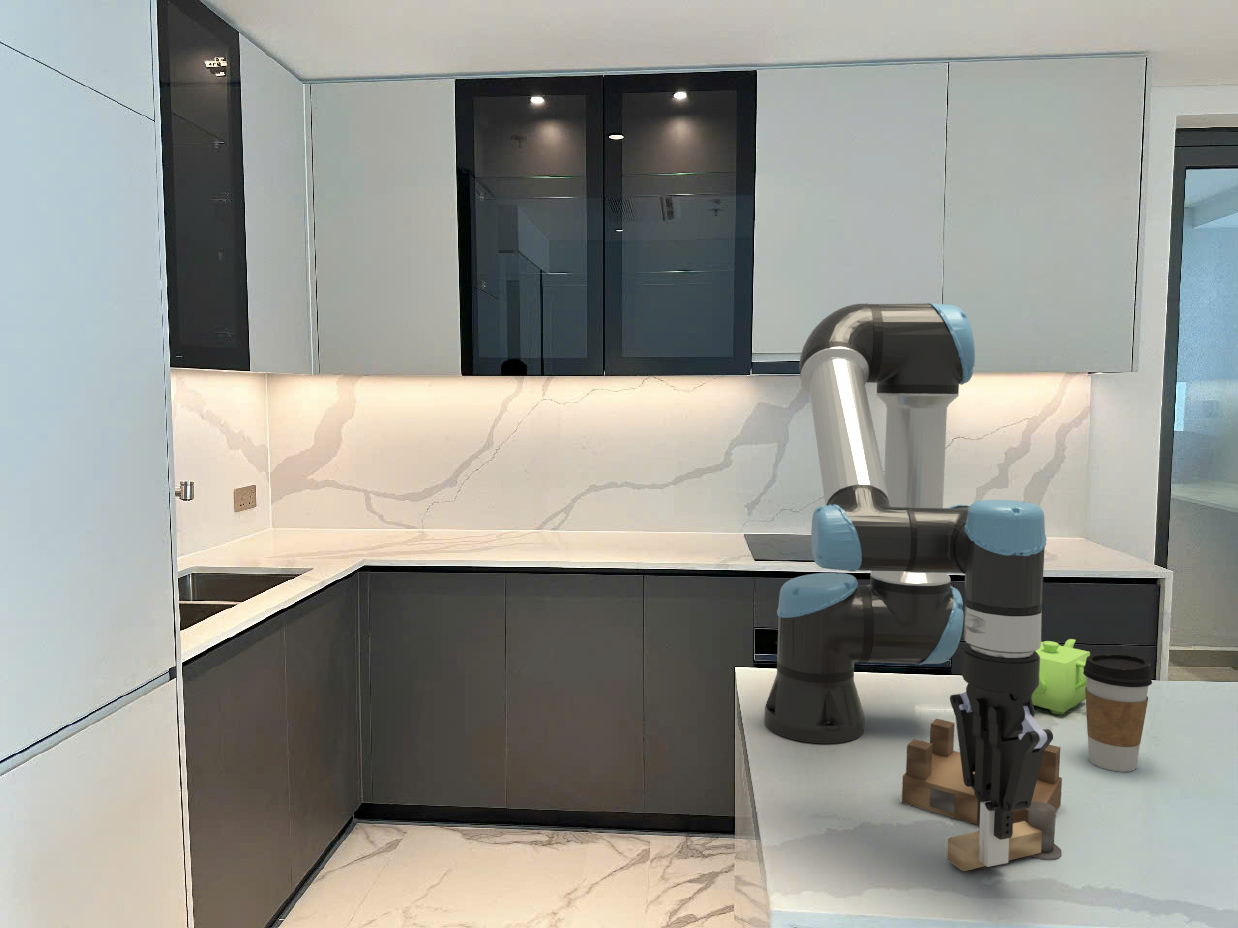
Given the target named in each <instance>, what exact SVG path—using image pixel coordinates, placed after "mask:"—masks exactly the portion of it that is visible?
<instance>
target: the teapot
mask: <svg viewBox="0 0 1238 928" xmlns="http://www.w3.org/2000/svg"><path fill="white" fill-rule="evenodd" d="M1075 643H1076V639H1073V638H1069V639H1067V640H1066V641H1065V643H1064V645H1061V644H1059V643H1058V642H1055V641H1052V640H1051V641H1050V640H1045V641H1041V647H1040V648H1039V649H1038V650H1036V652H1037V653H1038V655H1039V656H1040V670H1039V685H1038V687H1037V688H1036V689H1035V691H1034V692H1033V694H1032V703H1033V706H1036V707H1039V708H1044V709H1046V710H1050V711H1049V712H1050V713H1051V712H1052V714H1054V715H1058V714H1063V715H1065V712H1067V711H1068V710H1070V709H1072V708H1076V707H1077V705H1078V704H1080V703H1082V702H1084V701H1086V695H1085V688H1086V686H1087V679H1086V676H1085V675H1084V674H1083V671H1084V669H1083V668H1084V666H1085V663H1086V659H1087V657H1088V656H1090V655H1091V652H1090V651H1088V650H1087V651H1086V650H1082V649H1079V648H1074V645H1075ZM1055 713H1056V714H1055Z"/></svg>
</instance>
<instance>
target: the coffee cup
mask: <svg viewBox="0 0 1238 928" xmlns="http://www.w3.org/2000/svg"><path fill="white" fill-rule="evenodd" d="M1151 666H1152V665H1151V661H1150V660H1148V659H1147V658H1144V657H1142V656H1138V655H1135V654H1134V655H1133V654H1124V653H1099V654H1098V653H1097V654H1090V656H1088V657H1087V659H1086V663H1085V666H1084V668H1083V669H1084V671H1083V674H1084V675H1085V676H1086V679H1087V686H1086V688H1085V695H1086V699H1085V711H1086V728H1087V729H1086V731H1087V746H1088V748H1087V750H1088V752H1087V753H1088V761H1089V762H1090V763H1091V764H1093V765H1094V766H1096V767H1099V768H1101V769H1105V770H1108V771H1113V772H1119V773H1120V772H1122V773H1125V772H1126V773H1127V772H1134V771H1135V770H1136V769H1137V767H1138V759H1139V754H1140V753H1139V752H1140V746H1141V743H1142V742H1141V741H1142V736H1143V730H1144V724H1145V720H1146V719H1145V718H1146V714H1147V713H1146V712H1147V707H1148V702H1149V696H1148V690H1149V686H1151V685H1152V684H1153V681H1152V680H1153V675H1152V668H1151Z"/></svg>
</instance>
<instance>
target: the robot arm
mask: <svg viewBox="0 0 1238 928" xmlns="http://www.w3.org/2000/svg"><path fill="white" fill-rule="evenodd" d="M975 349H976V348H975V339H974V334H973V330H972V326H971V323H970V320H969V319H968V317H967V314H966V313H965V312H964V311H963V310H962V309H961V308H960V307H959V306H957V305H953V304H945V303H944V304H942V303H933V302H927V303H856V304H855V303H854V304H853V303H852V304H850V305H846V306H843V307H841V308H839V309H837V310H835V311H833V312H832V313H830V314H829V315H827V316H825V318H823V319H822V320H821V321H820V322H819V323H818V324H816V326H815V327H814V329H812V331H811V333H810V335H808V338H807V339H806V341H805V343H804V345H803V346H802V350H801V354H800V357H799V369H798V370H799V375H800V376H799V377H800V383H801V386H802V387H803V390H804V391H805V392H806V393H807V395H809V396H810V404H811V410H812V417H813V425H814V432H815V439H816V441H815V442H816V447H817V454H818V459H819V460H818V461H819V468H820V475H821V476H820V477H821V483H822V489H823V496H824V504H825V505H819V506H817V507H816V508H815V509H814V510H813V513H812V516H811V517H812V519H811V532H810V533H811V534H810V536H811V537H810V539H811V552H812V558H813V561H814V562H815V564H816V565H817V566H818V567H820V568H821V569H827V570H828V569H829V570H838V571H845V572H846V571H847V572H857V571H859V572H861V571H864V572H866V571H867V572H869V571H870V575H869V577H870V579H869V584H859V582H858V581H857V578H856V577H855V576H854V575H852V574H848V573H844V572H840V573H836V572H819V573H811V574H805V575H801V576H800V575H799V576H797V577H794V578H791V579H789V580H787V581H786V582H785V583H783V585H782V586H781V587H780V590H779V598H778V608H777V610H776V614H777V616H778V626H777V627H778V630H777V632H778V633H777V657H776V659H777V661H776V674H775V678H774V680H773V684H772V685H771V689H770V691H769V694H768V697H767V700H766V702H765V705H764V720H763V721H764V725H765V726H766V728H768V729H769V730H771V731H772V732H773V733H775V734H776V735H779V736H782V737H784V738H788V739H790V740H795V741H798V742H799V741H800V742H803V743H805V742H806V743H813V744H840V743H846V742H849V741H850V742H851V741H853V740H855V739H857V738H859V737H861V736H862V735H863V734H864V731H865V714H864V709H863V707H862V703H861V700H860V697H859V693H858V689H857V687H856V683H855V677H854V676H855V663H857V662H859V663H862V662H863V663H887V664H912V665H913V664H914V665H916V666H921V665H926V664H929V665H931V664H932V665H933V664H936V665H937V664H938V665H940V664H943V663H946V662H947V661H949V660H950V659H951V658H952V656H953V655H954V654H955V653H956V651H957V649H958V648H959V644H960V640H961V638H962V632H963V641H965V642H966V644H965V646H963V648H962V660H961V661H962V663H961V666H962V667H961V676H962V678H963V680H964V681H965V682H966V683H967V685H966V688H965V691H964V692H962V693H958V694H957V693H956V694H950V697H949V700H950V704H951V705H950V706H951V708H952V710H953V714H954V716H955V723H956V730H957V731H956V732H957V738H958V746H959V752H960V757H961V764H962V772H963V780H964V783H965V785H966V786H967V787H972V788H973V789H974V792H975V796H976V798H977V799H978V809H977V811H978V812H977V822H978V825H977V826H979V830H978V831H979V845H980V847H979V861H980V862H982V863H983V864H984V865H986V866H985V867H987V868H989V867H993V866H995V867H996V866H998V865H1004V864H1008V863H1009V860H1008V856H1009V838H1011V837H1012V834H1013V812H1014V811H1017V810H1023V809H1028V808H1030V805H1031V801H1032V798H1033V794H1034V790H1035V786H1036V782H1037V778H1038V774H1039V771H1040V767H1041V763H1042V759H1043V755H1044V751H1045V749H1046V748H1047V747H1048V745H1051V743H1052V742H1053V740H1054V734H1053V732H1052V730H1051V729H1048V728H1046V729H1042V727H1041V726H1040V725H1039V724H1038V722H1037V720H1036V719H1035V708H1034V705H1033V703H1032V694H1033V692H1034V691H1035V689H1036V688H1037V687H1038V685H1039V670H1040V656H1039V655H1038V653H1037V652H1036V650H1038V649H1039V648H1040V647H1041V642H1042V615H1043V614H1042V611H1043V610H1042V608H1043V607H1042V605H1043V586H1044V566H1045V547H1046V545H1047V536H1046V529H1045V528H1046V524H1045V513H1044V510H1043V509H1042V507H1041V506H1039V505H1038V504H1035V503H1032V502H1024V501H1021V500H1010V499H1009V500H1008V499H983V500H982V499H981V500H976V501H974V502H973V503H971V504H970V505H968V504H956V505H955V504H954V505H952V506H950V507H944V493H945V492H944V490H945V489H944V487H945V465H946V463H945V461H946V444H947V441H946V440H947V439H946V438H947V418H948V416H947V415H948V408H949V405H950V404H951V403H952V402H954V401H955V399H957V398H958V397H959V394H960V392H959V389H960V385H961V386H962V385H964V384H967V383H968V382H970V380H971V379H972V376H973V373H974V367H975V363H976V360H975V359H976V352H975V351H976V350H975ZM868 383H871V384H872V383H876V396H877V397H878V398H879V399H880V401H882V403H884V404H885V407H886V418H885V421H886V422H885V441H884V442H885V446H884V447H885V448H884V449H885V450H884V468H883V465H882V461H881V456H880V451H879V446H878V441H877V437H876V431H875V427H874V422H873V417H872V413H871V409H870V408H871V407H870V404H869V400H868V399H869V398H868V393H867V390H866V385H867V384H868ZM883 469H884V471H883ZM949 574H962V575H963V574H964V601H963V598H962V594H961V593H960V591H959V589H957V588H955V587H953V586H952V585H951V577H950V575H949ZM963 602H964V603H963ZM963 606H964V611H963ZM973 772H975V774H973Z"/></svg>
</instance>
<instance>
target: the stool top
mask: <svg viewBox="0 0 1238 928" xmlns="http://www.w3.org/2000/svg"><path fill="white" fill-rule="evenodd" d="M929 733H930V734H929V742H927V741H924V740H919V739H916V738H912V739H911V741H910V742H908V743H907V744H906V761H905V763H906V765H905V773H904V774H903V775H902V783H901V784H902V786H901V803H903V804H906V805H909V806H913V807H917V808H919V807H920V809H923V810H926V811H929V810H930V812H933V813H936V814H940V815H943V816H947V817H950V818H953V819H957V820H961V821H963V822H967V823H971V824H974V825H977V826H979V825H978V822H977V812H978V811H977V809H978V799H977V798H976V796H975V792H974V789H973V788H972V787H967V786H966V785H965V783H964V780H963V772H962V764H961V757H960V751H956V750H954V745H955V743H954V741H955V722H952V721H948V720H944V719H941V718H940V719H939V718H935V719H934V720H933V721H932V722H931V723H930V732H929ZM1060 760H1061V746H1058V745H1052V744H1049V745H1048V747H1047V748H1046V749H1045V751H1044V755H1043V759H1042V763H1041V767H1040V771H1039V774H1038V778H1037V782H1036V786H1035V790H1034V794H1033V798H1032V801H1031V802H1035V801H1037V802H1044V803H1047V804H1050V805H1052V806H1053V807H1055V809H1056V813H1057V812H1058V810H1059V808H1060V806H1061V803H1062V786H1063V777H1060V767H1061V766H1060V765H1061V763H1060V762H1061V761H1060ZM973 774H975V772H973ZM1022 821H1025V822H1027V823H1028V809H1023V810H1017V811H1014V812H1013V823H1018V822H1022ZM1062 851H1063V850H1062V849H1061V847H1059V846H1058V845H1057V844H1055V843H1054V849H1053V850H1052V851H1049V852H1043V851H1041V853H1038V854H1033V855H1029V856H1030V857H1032V858H1035V859H1039V860H1047V861H1053V860H1057V859H1060V858H1061V857H1062V855H1063V854H1062V853H1063V852H1062Z"/></svg>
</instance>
